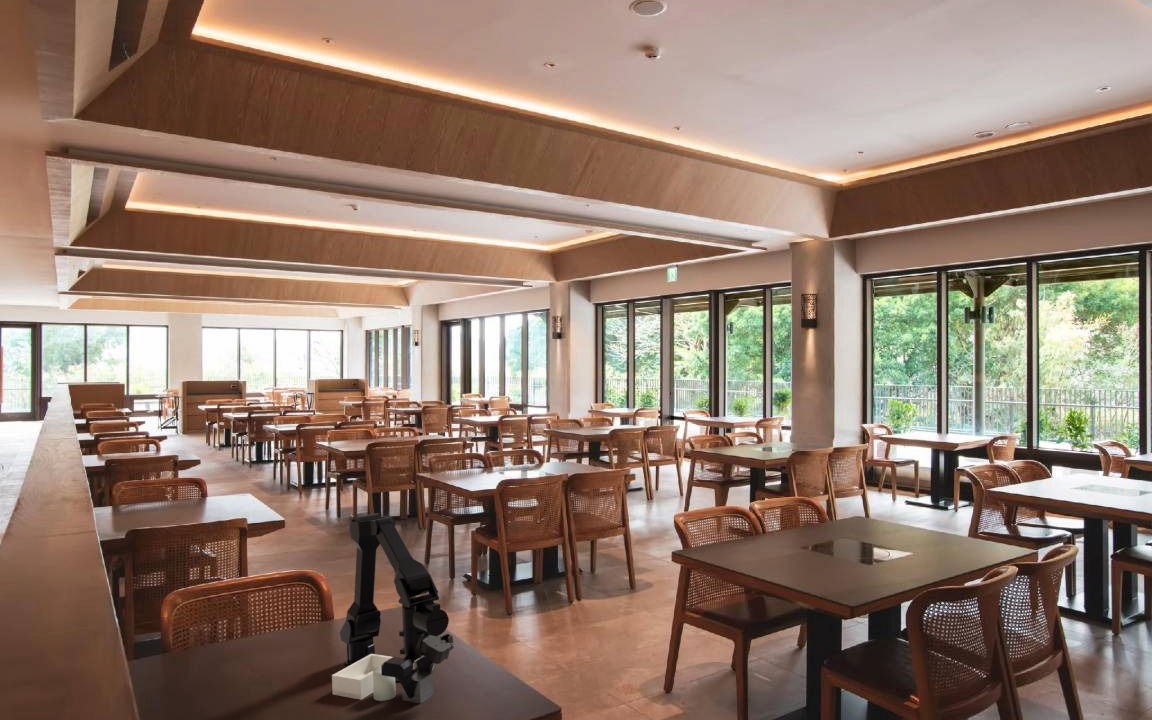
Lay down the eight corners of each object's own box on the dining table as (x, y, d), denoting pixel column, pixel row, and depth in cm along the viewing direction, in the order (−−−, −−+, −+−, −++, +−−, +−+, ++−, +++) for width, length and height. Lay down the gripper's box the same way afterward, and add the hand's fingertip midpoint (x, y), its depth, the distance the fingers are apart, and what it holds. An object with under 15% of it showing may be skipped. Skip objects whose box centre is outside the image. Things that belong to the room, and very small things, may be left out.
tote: (332, 694, 175) (331, 675, 176) (371, 671, 188) (371, 653, 188) (361, 699, 172) (360, 680, 172) (399, 676, 185) (398, 657, 185)
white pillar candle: (369, 699, 172) (368, 673, 172) (383, 690, 177) (382, 664, 177) (386, 702, 170) (385, 675, 170) (400, 693, 175) (399, 667, 175)
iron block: (402, 700, 171) (401, 678, 171) (415, 691, 175) (415, 670, 175) (420, 703, 169) (419, 681, 169) (433, 694, 173) (432, 672, 173)
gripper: (419, 643, 160) (422, 716, 160) (467, 615, 177) (469, 681, 177) (378, 637, 165) (381, 708, 165) (428, 611, 182) (430, 675, 182)
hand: (418, 692), depth 172 cm, fingers closed on iron block, 5 cm apart
